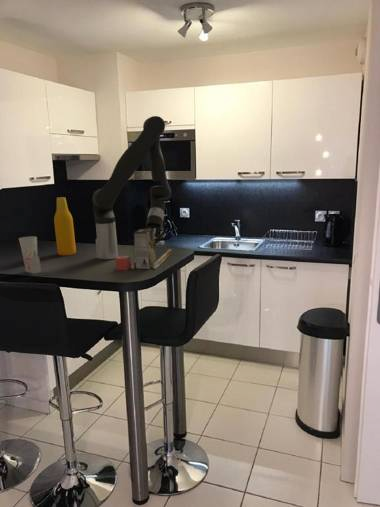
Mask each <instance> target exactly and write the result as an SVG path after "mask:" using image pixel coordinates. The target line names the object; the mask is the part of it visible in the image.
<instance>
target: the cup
mask: <svg viewBox="0 0 380 507" xmlns="http://www.w3.org/2000/svg"><path fill="white" fill-rule="evenodd" d="M18 240H19V241H18V242H19V246H20V250H21V254H22V258H23V260H24V256H25V253H26V249H31V250H35V252H36V254H37V255H38V237H37V236H34V235H33V236H32V235H31V236H23V237H19V238H18Z"/></svg>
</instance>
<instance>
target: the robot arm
mask: <svg viewBox="0 0 380 507" xmlns="http://www.w3.org/2000/svg"><path fill="white" fill-rule="evenodd" d="M142 126H143V128H142V129H143V130H142V131H141V132H140V134H139V136H138V137H137V138H136V139H135V140H134V141H133V142H132V143H131V145H129V146H128V147H127V149H125V151H124V152H123V153H122V155H120V158H119V159H118V160H117V163H116V164H115V166H114V168H113V171H112V173H111V176H110V177H109V179H108V181H106V183H105V184H104V186H102V187H101V188H98V189H97V190H95V191H94V192H93V195H92V207H93V216H94V221H95V228H96V238H95V248H96V258H97V259H98V260H112V259H115V258H117V257H118V256H119V251H118V238H117V229H116V228H117V227H116V216H115V213H114V209H113V206H114V204H115V203H116V200H117V199H118V196H119V194H120V193H121V191H122V189H123V188H124V186H125V185H127V183H128V182H129V180H130V179H131V178H132V177H133V175H134V173H136V171H137V170H138V168H139V167H140V165H141V164H142V163H143V160H144V159H145V157H146V155H147V154H148V156H149V164H150V171H151V172H150V173H151V179H152V181H155V182H159V183H160V184H161V185H154V186H151V188H150V190H149V194H150V208H149V211H148V214H147V220H146V224H145V228H144V229H154V238H155V244H159V243H160V242H161V241H162V240H163V239H164V238H165V237H166V236H167V235H166V232H165V231H163V223H164V220H165V219H164V218H165V210H166V202H165V201H164V200H169V199H171V197H172V189H171V187H170V184H169V181H168V178H167V171H166V165H165V160H164V159H165V158H164V156H163V153H162V150H161V149H162V147H161V141H160V140H161V135H163V133H164V132H165V129H166V123H165V121H164V119H163V118H162V117H161V116H158V115H152V116H150V117H148V118H146V119H145V120H144V122H143V125H142Z"/></svg>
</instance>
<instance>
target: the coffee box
mask: <svg viewBox="0 0 380 507" xmlns="http://www.w3.org/2000/svg"><path fill="white" fill-rule="evenodd" d="M133 240H134V241H133V242H134V243H133V244H134V255H135V260H136V267H135V269H139V270H140V269H146V270H147V269H148V270H150V269H151V268H153V264H154V263H155V262H156V261H157V256H156V254H157V253H156V243H155V238H154V229H145V228H140V229H138V230H135V231H134V232H133Z"/></svg>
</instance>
